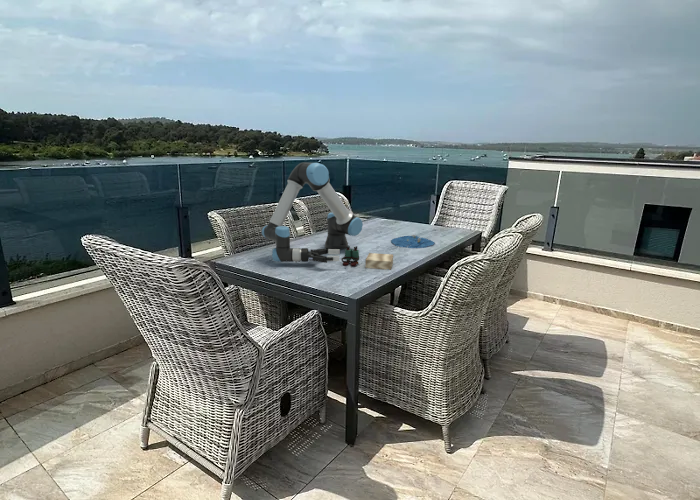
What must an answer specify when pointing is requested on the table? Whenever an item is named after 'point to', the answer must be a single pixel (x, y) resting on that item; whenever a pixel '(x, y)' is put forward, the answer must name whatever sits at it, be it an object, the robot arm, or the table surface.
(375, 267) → the birch block
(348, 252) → the binoculars
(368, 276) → the table surface
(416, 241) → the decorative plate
